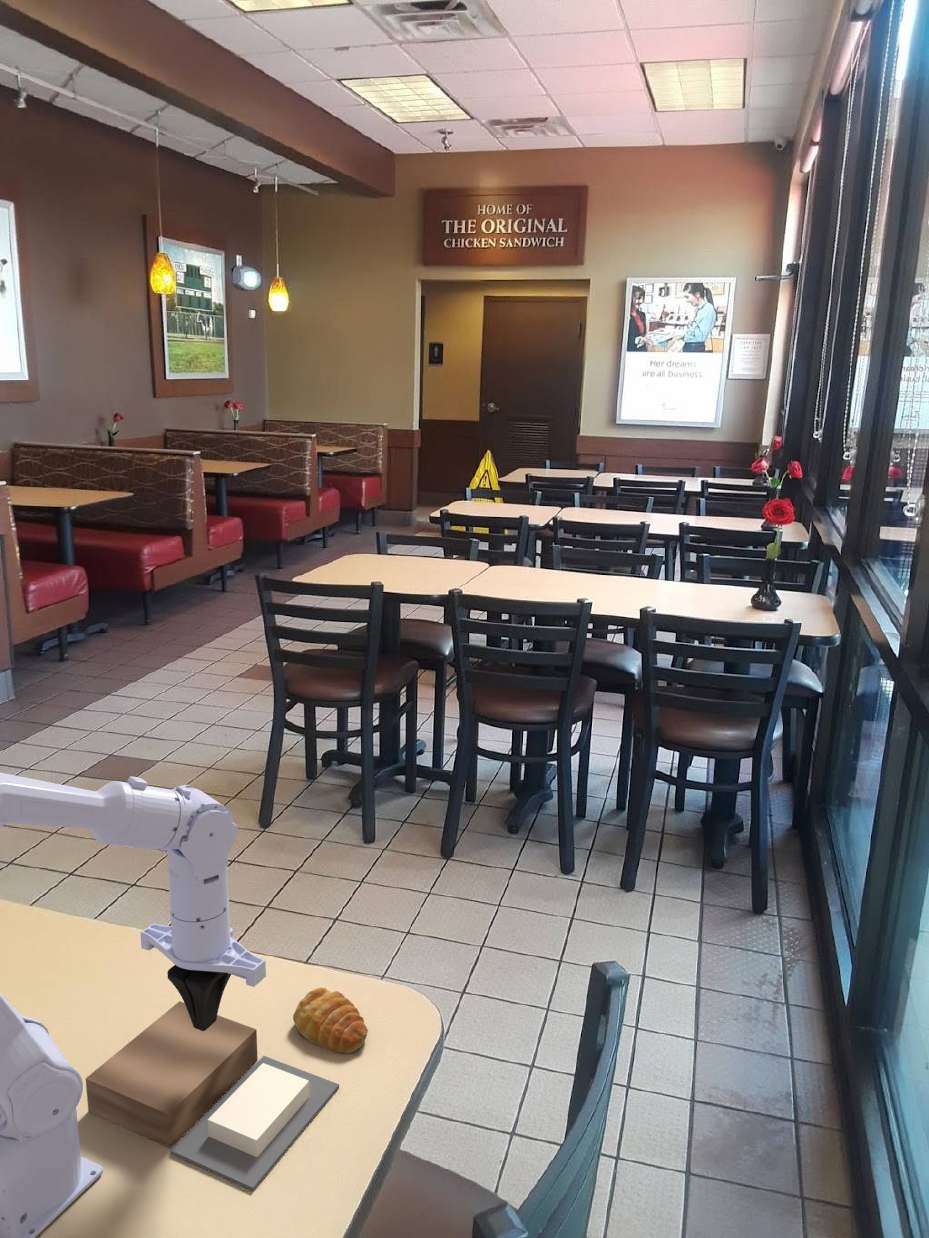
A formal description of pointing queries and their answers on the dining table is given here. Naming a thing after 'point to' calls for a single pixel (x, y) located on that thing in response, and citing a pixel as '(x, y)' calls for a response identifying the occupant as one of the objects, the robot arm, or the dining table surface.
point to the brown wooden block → (171, 1074)
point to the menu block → (258, 1109)
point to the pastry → (330, 1021)
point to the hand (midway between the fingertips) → (205, 1023)
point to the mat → (254, 1169)
